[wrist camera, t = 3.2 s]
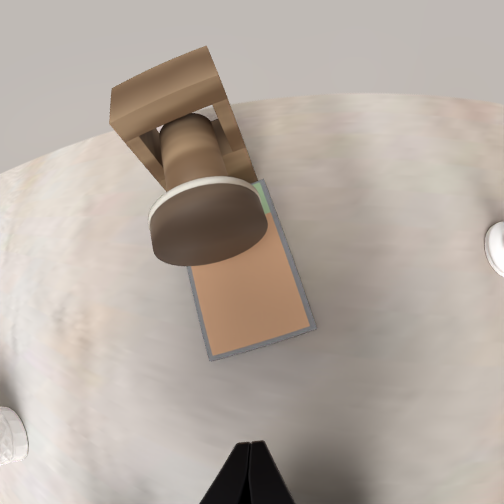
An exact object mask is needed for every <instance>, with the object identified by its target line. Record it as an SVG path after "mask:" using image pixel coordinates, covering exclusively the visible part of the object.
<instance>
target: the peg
mask: <svg viewBox="0 0 504 504" xmlns="http://www.w3.org/2000/svg"><path fill="white" fill-rule="evenodd" d="M159 140H160V147H161V154H162V161H163V168H164V175H165V181H166V188H167V192H166V193H165V194H164V195H162V196H161V197H160V198H159V199H158V200H157V201H156V202H155V203H154V204H153V206H152V208H151V209H150V212H149V215H148V224H149V230H150V232H151V239H152V246H153V251H154V254H155V255H156V257H157V258H158V259H160V260H161V261H163V262H165V263H168V264H172V265H177V266H200V265H207V264H212V263H216V262H220V261H223V260H226V259H229V258H232V257H234V256H237V255H239V254H241V253H243V252H245V251H246V250H248V249H250V248H251V247H253V246H254V245H255V244H257V243H258V242H259V241H260V240H261V239H262V238H263V236H264V235H265V233H266V231H267V228H268V222H267V219H266V216H265V213H264V210H263V207H262V204H261V199H260V196H259V193H258V191H257V190H256V188H255V187H254V186H253V185H251V184H250V183H248V182H246V181H244V180H241V179H238V178H234V177H228V174H227V171H226V167H225V164H224V161H223V158H222V154H221V151H220V148H219V145H218V141H217V138H216V135H215V132H214V128H213V125H212V123H211V121H210V120H209V119H208V118H206V117H205V116H203V115H200V114H196V113H189V114H187V115H185V116H182V117H180V118H177V119H175V120H173V121H171V122H168V123H166V124H164V126H163V127H162V129H161V131H160V134H159Z"/></svg>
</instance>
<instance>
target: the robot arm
mask: <svg viewBox="0 0 504 504" xmlns="http://www.w3.org/2000/svg"><path fill="white" fill-rule="evenodd" d="M199 504H296V503H295V502H294V500H293V498H292V496H291V494H290V492H289V490H288V488H287V486H286V484H285V482H284V480H283V478H282V476H281V474H280V472H279V470H278V468H277V466H276V464H275V462H274V460H273V458H272V456H271V454H270V451H269V449H268V447H267V445H266V443H265V441H263V440H261V441H253V442H251V443H250V442H241V443H237V444H236V445H235V447H234V449H233V450H232V452H231V454H230V455H229V457H228V459H227V460H226V462H225V464H224V465H223V467H222V469H221V470H220V472H219V474H218V475H217V477H216V478H215V480H214V482H213V483H212V485H211V486H210V488H209V489H208V491H207V493H206V494H205V496H204V497H203V499H202V500H201V502H200V503H199Z"/></svg>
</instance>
